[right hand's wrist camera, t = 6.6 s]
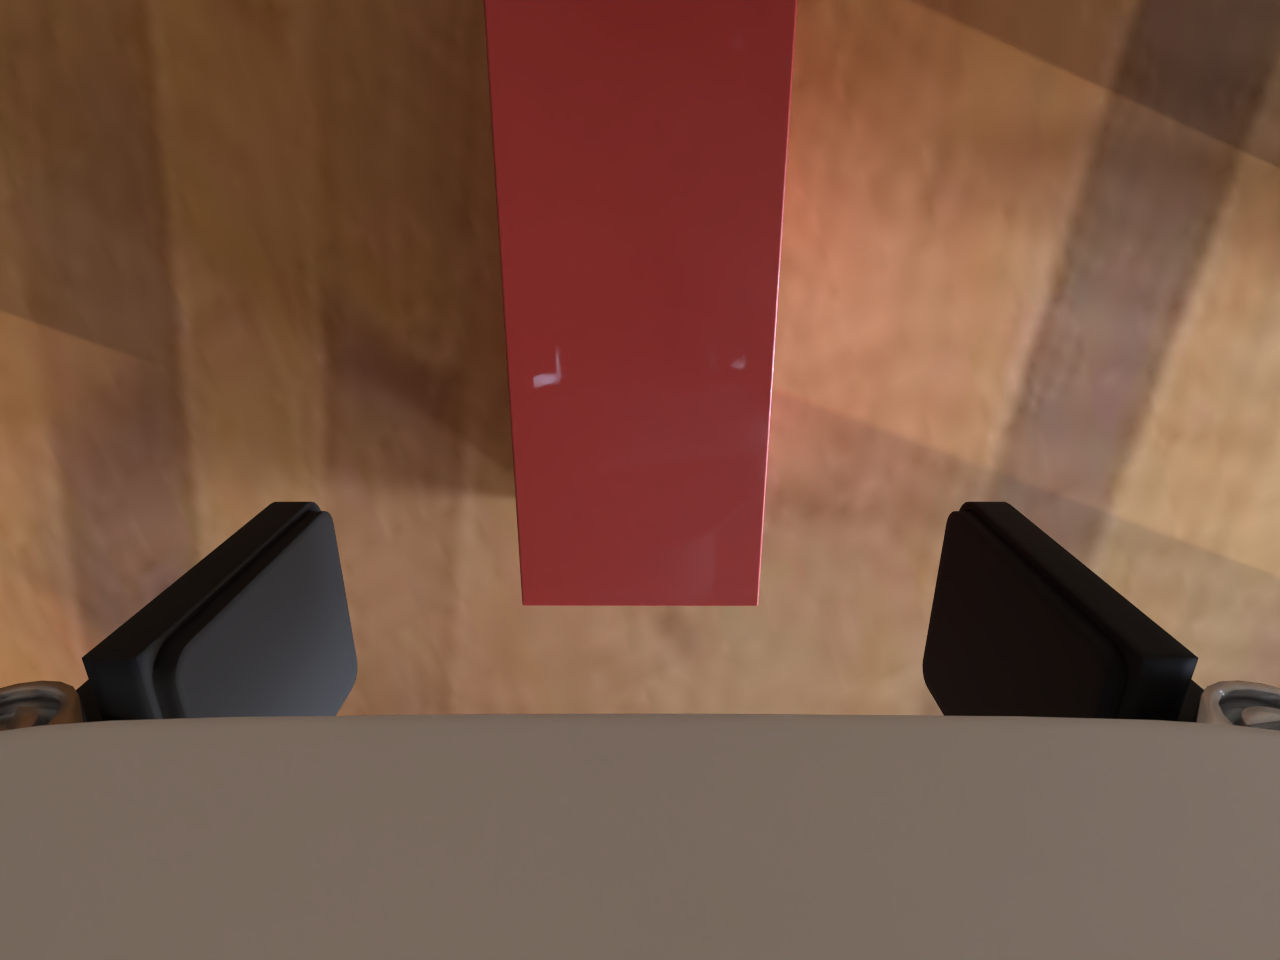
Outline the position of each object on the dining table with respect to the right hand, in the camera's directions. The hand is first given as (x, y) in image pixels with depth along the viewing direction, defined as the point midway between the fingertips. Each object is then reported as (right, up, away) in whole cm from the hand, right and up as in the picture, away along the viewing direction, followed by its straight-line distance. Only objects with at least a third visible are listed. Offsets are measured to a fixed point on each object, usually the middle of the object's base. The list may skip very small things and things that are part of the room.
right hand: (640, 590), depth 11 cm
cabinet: (0, +10, +13) cm, 16 cm away
